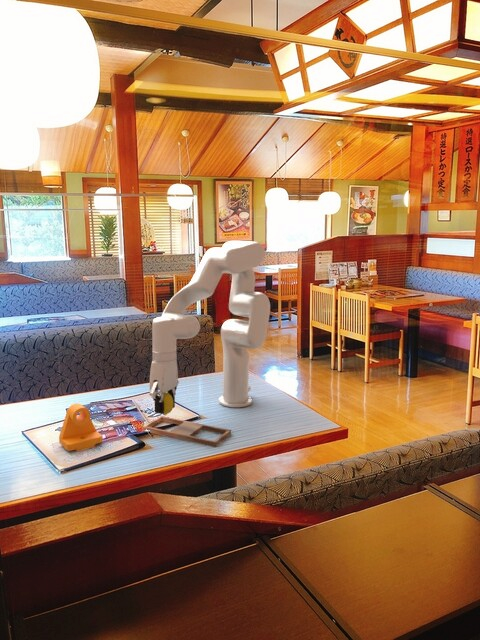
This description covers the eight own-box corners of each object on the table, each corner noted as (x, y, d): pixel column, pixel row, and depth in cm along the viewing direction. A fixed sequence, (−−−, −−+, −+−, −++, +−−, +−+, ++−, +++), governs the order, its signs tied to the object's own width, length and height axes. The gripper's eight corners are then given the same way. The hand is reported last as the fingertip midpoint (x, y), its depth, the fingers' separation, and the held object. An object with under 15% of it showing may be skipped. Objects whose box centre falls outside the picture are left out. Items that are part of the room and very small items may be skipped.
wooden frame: (161, 420, 174) (160, 415, 174) (231, 434, 163) (231, 430, 162) (142, 431, 164) (142, 426, 164) (215, 447, 153) (215, 442, 153)
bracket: (68, 453, 148) (66, 414, 146) (59, 445, 153) (57, 407, 151) (103, 444, 154) (102, 406, 152) (93, 436, 160) (92, 400, 158)
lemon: (170, 419, 163) (170, 395, 161) (153, 417, 164) (153, 393, 162) (175, 413, 168) (175, 390, 167) (159, 411, 169) (159, 388, 168)
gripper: (169, 349, 172) (169, 400, 175) (138, 360, 156) (139, 416, 160) (188, 351, 169) (188, 404, 172) (159, 363, 153) (159, 420, 156)
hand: (164, 409), depth 166 cm, fingers closed on lemon, 5 cm apart
